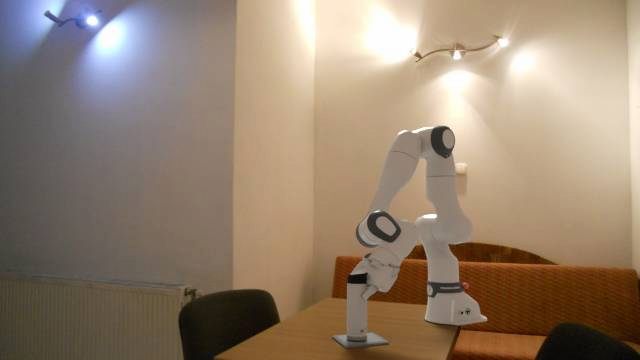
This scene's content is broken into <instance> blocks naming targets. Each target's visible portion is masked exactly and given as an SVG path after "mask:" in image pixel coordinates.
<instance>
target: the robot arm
mask: <svg viewBox="0 0 640 360" xmlns="http://www.w3.org/2000/svg"><path fill="white" fill-rule="evenodd" d="M455 145H456V137H455V134H454V132H453V130H452V129H451V128H450V127H449V126H446V125H436V126H427V127H422V128H419V129H416V130H413V131H412V130H402V131H400V132H398V133H397V135H396V136H395V138H394V139H393V140H392V142H391V145H390V147H389V148H388V151H387V154H386V157H385V160H384V163H383V167H382V171H381V175H380V179H379V182H378V185H377V186H378V187H377V190H376V193H375V195H374V198H373V200H372V202H371V206H370V207H369V210H368V212H367V215H366V216H365V218H364V219H362V221H360V223H358V224H357V226H356V228H355V237H356V239H357V241H358V242H359V244H360V245H361V246H363V247H365V248H369V249H374V248H377V247H378V246H379V247H378V248H377V249H376V250H374V251H372V252H368V253H365V254H364V255H363V256H362V260H360V261H359V263H357V265H356V266H355V267H354V268H353V270H352V272H351V273H350V274H349V275H353V274H364V273H368V275H367V281H366V282H367V291H365V292H363V293H362V294H361V297H362V298H363V299H365V300H367V301H368V299H369V298H370V297H371V296H373V295H374V294H376V292H378V291H379V292H383V293H387V292H389V290H390V289H391V288H392V286H394V284H395V282H396V281H397V278H398V274H399V272H400V271H401V270H400V269H401V268H400V266H401V265H402V263H403V261H404V259H406V258H407V257H408V256H409V255H410V254H411V252H412V251H413V249H414V248H415V246H416V245H417V243H418V241H420V242H421V244H422V247H423V250H424V252H425V256H426V261H427V277H428V278H427V281H426V284H427V285H426V293H427V304H426V305H427V306H426V312H425V316H424V320H425V321H427V322H430V323H434V324H441V325H442V324H443V325H452V326H466V325H472V324H477V323H485V322H487V321H488V318H487V316H485V315H483V314H481V309H480V305H479V303H478V302H477V301H476V300H475V299H473V298H472V297H471V296H470V295H469V294H467V293H466V292H465V290H466V289H469V288H470V284H469V283H468V282H462V281H460V273H459V272H460V271H459V270H460V269H459V268H460V267H459V260H458V258H457V257H456V256H455V255H454V254H453V252H452V251H451V249H450V246H449V245H459V244H464V243H468V242H469V241H470V240H471V239H472V238H473V237H472V236H473V235H474V225H473V222H472V220H471V219H470V218H469V217H468V216H467V215H466V214H465V213H464V211H463V209H462V207H461V205H460V202H459V200H458V199H459V198H458V193H457V173H456V164H455V158H454V154H453V151H454V148H455ZM420 159H425V161H426V163H425V164H426V165H425V192H426V193H425V194H426V200H428V201H429V202H430V203H431V204H432V206H433V209H434V210H435V213H429V214H423V215H422V216H419V217H418V218H417V219H416V220H415V221H414V223H412V222H411V221H410V220H407V219H399V218H396V217H395V216H392V215H391V214H390V213H388V212H389V211H390V207H391V204H392V203H393V200H394V199H395V198H396V197H397V195H398V194H399V193H400V192H401V191H402V189H404V188H405V186H406V185H407V184H409V182H410V181H411V179H412V178H413V176H414V174H415V172H416V169H417V166H418V164H419V160H420ZM464 289H465V290H464Z"/></svg>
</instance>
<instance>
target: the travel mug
mask: <svg viewBox="0 0 640 360" xmlns="http://www.w3.org/2000/svg"><path fill="white" fill-rule="evenodd" d="M367 275H368V273H364V274H353V275H350V274H348V275H347V277H346V278H347V279H346V280H347V282H346V334H347V339H348V340H353V341H364V340H366V339H367V333H368V299H367V300H365V299H363V298H362V297H361V294H362V293H363V292H365V291H367V290H368V288H367V282H366V281H367Z"/></svg>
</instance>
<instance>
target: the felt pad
mask: <svg viewBox="0 0 640 360" xmlns="http://www.w3.org/2000/svg"><path fill="white" fill-rule="evenodd" d="M331 336H332V337H331V338H332V339H333V340H334V341H336V342H337V343H338V344H339V345H341V346H342V347H343V348H344V349H350V348H351V349H352V348H359V347H370V346H372V345H373V346H381V345H389V344H390V341H388V340H386V339H385V338H384V337H382V336H380V335H379V334H377V333H375V332H373V331H370V332H367V339H366V340H364V341H353V340H348V339H347V333H346V334H336V335H331Z"/></svg>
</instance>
